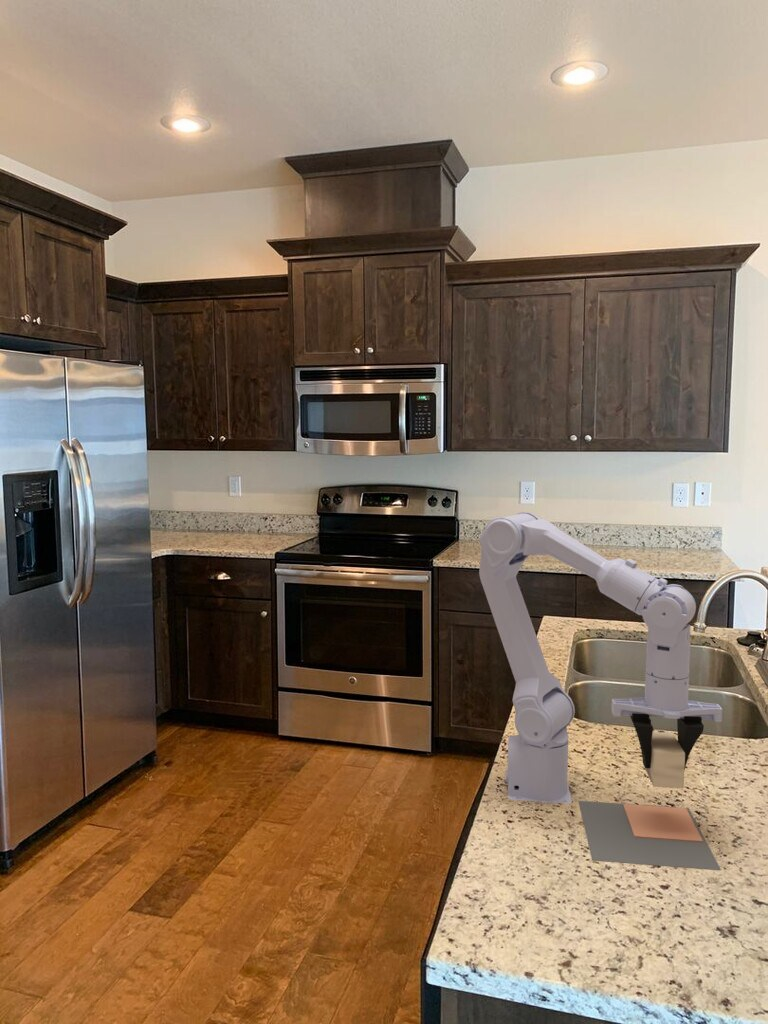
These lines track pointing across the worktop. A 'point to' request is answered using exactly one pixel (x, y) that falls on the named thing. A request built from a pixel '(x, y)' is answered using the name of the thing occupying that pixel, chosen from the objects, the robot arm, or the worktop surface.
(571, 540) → the robot arm
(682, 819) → the rubber mat
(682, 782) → the birch block
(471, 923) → the worktop surface
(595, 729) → the worktop surface
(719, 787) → the worktop surface
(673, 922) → the worktop surface
